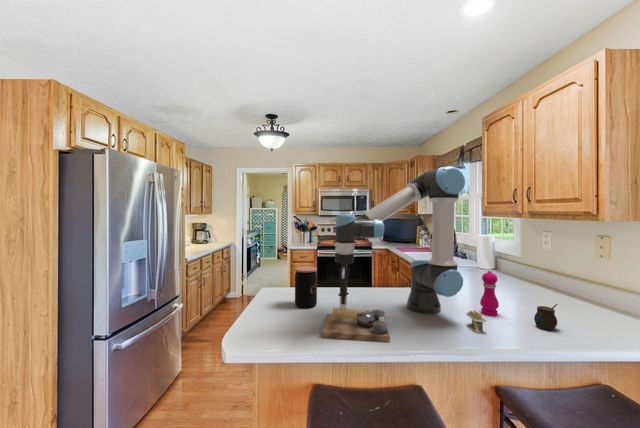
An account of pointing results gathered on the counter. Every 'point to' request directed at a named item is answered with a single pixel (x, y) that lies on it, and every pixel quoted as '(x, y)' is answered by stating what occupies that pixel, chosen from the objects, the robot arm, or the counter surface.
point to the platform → (476, 320)
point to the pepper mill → (489, 294)
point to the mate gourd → (545, 317)
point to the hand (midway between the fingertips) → (343, 311)
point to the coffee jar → (305, 287)
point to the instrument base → (356, 328)
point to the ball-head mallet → (356, 316)
